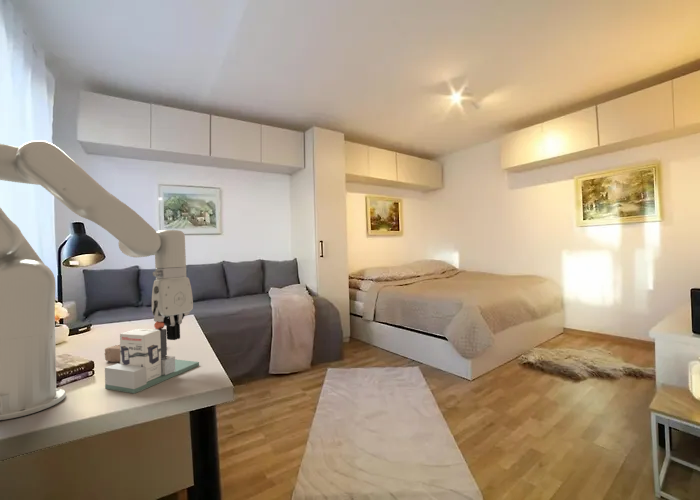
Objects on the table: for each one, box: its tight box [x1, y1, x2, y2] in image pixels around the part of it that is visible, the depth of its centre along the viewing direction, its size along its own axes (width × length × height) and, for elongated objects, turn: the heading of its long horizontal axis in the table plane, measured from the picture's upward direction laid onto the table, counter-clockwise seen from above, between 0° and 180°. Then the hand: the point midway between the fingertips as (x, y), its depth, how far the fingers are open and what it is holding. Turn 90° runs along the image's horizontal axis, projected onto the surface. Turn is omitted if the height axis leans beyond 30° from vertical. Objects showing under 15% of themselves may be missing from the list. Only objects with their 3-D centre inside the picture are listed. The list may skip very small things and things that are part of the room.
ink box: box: [119, 328, 161, 382], centre depth 80 cm, size 8×5×12 cm, turn 73°
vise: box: [104, 358, 200, 394], centre depth 84 cm, size 19×10×5 cm, turn 160°
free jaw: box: [153, 321, 176, 375], centre depth 85 cm, size 4×10×13 cm, turn 70°
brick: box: [104, 344, 120, 363], centre depth 104 cm, size 17×8×5 cm, turn 177°
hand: (173, 338), depth 89 cm, fingers closed
